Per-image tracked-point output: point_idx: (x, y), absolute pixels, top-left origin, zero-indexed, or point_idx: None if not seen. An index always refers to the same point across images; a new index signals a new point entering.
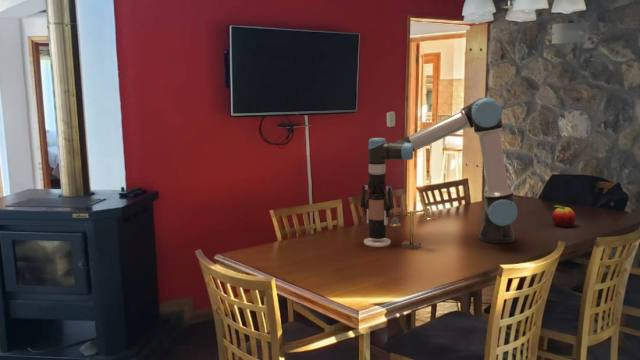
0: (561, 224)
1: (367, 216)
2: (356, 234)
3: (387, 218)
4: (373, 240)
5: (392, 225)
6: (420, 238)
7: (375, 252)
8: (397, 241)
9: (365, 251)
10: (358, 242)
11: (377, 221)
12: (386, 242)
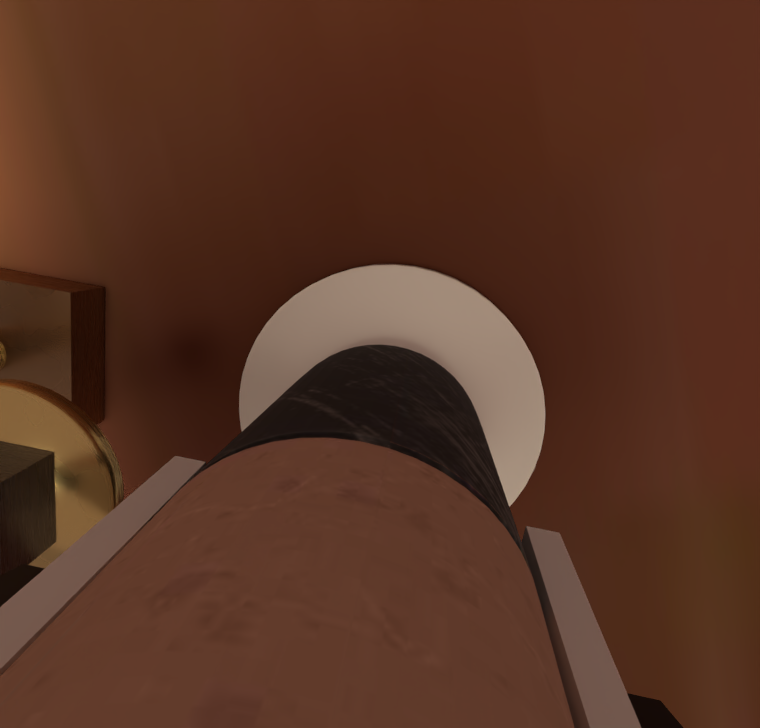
0: None
1: (586, 645)
2: (672, 692)
3: None
4: None
5: (14, 389)
6: None
7: (322, 19)
8: None
9: (452, 26)
10: (605, 405)
11: (287, 426)
12: (270, 372)
